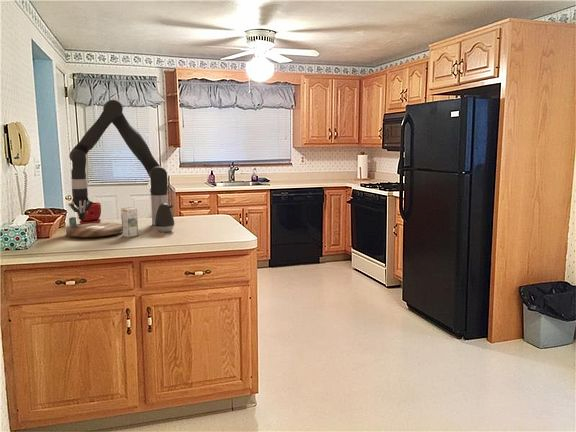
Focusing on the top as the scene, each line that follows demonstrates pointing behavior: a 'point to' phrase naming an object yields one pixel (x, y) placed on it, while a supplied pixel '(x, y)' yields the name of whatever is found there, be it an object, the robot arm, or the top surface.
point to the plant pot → (92, 214)
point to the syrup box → (129, 222)
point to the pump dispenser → (164, 218)
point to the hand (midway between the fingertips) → (81, 219)
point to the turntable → (92, 229)
